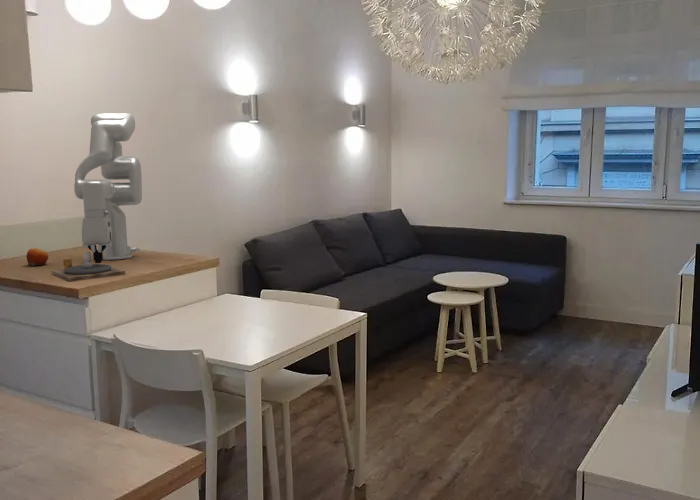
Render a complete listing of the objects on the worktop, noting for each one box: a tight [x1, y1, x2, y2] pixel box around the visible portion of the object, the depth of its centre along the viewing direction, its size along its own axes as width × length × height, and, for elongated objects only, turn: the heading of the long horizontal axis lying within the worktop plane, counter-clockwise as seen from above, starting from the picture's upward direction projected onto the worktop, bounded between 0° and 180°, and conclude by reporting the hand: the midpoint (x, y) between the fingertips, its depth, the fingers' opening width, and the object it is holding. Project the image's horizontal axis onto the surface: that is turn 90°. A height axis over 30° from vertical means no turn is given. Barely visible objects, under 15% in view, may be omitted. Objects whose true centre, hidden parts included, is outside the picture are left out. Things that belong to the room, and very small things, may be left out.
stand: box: [51, 258, 127, 282], centre depth 252 cm, size 20×20×5 cm
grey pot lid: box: [65, 251, 112, 275], centre depth 252 cm, size 16×16×6 cm
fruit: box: [26, 247, 49, 268], centre depth 273 cm, size 8×8×8 cm
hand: (98, 262), depth 258 cm, fingers closed
